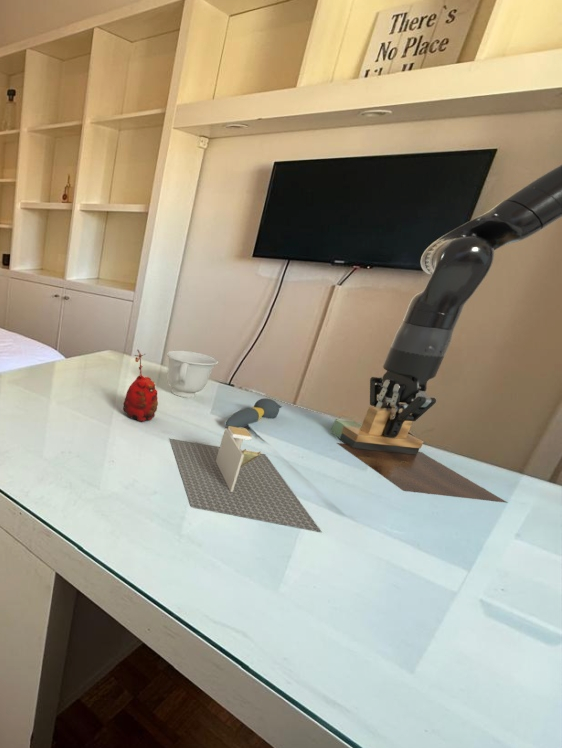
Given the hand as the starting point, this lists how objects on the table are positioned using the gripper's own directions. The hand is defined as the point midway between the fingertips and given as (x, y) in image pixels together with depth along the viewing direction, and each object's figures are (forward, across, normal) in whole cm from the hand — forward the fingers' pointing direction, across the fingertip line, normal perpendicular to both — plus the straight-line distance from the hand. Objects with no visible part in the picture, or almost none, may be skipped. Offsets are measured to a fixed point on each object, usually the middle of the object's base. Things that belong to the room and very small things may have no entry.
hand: (382, 433), depth 90 cm
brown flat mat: (+4, -9, 0) cm, 10 cm away
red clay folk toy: (+4, +6, +46) cm, 46 cm away
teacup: (+4, +24, +31) cm, 39 cm away
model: (+5, -18, +35) cm, 39 cm away
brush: (+3, 0, 0) cm, 3 cm away
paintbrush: (+4, +9, +20) cm, 22 cm away
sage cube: (+2, +2, +3) cm, 5 cm away
